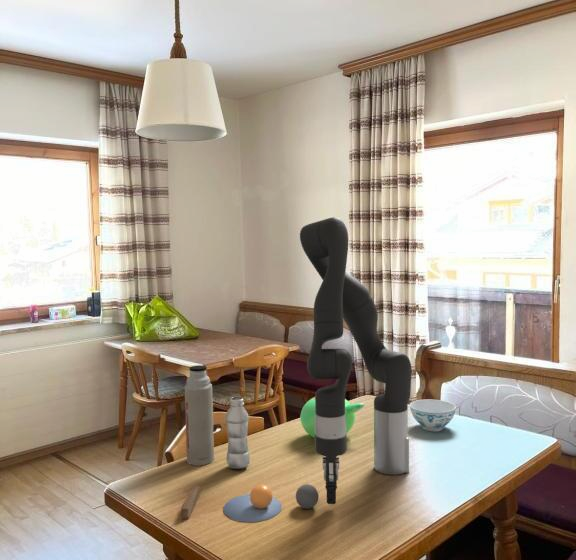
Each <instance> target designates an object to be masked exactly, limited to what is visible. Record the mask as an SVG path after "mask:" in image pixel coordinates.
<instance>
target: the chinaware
mask: <svg viewBox="0 0 576 560" xmlns="http://www.w3.org/2000/svg"><path fill="white" fill-rule="evenodd" d="M409 409H410V411H411V412H410V413H411V415H412V417H413V419H414V420H415V421H416V423H418V424H419V425H421V427H422V429H423V430H424V431H428V432H440V431H443V429H444V427H446V426H447V425H448V424H450V422H451V421H452V420H453V418H454V416H455V413H456V409H457V407H456V405H455V404H454V403H452V402H449V401H446V400H440V399H429V398H427V399H417V400H413V401H412V402H410V404H409Z"/></svg>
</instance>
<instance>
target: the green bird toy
mask: <svg viewBox="0 0 576 560" xmlns="http://www.w3.org/2000/svg"><path fill="white" fill-rule="evenodd" d="M364 407H365V403H362V402H361V403H360V402H359V403H350V401H348V400H347V399H346V398H345V418H346V434H347V433H348V432H350V430H351V429H352V428H353V426H354V424H355V421H356V412H358V411H360V410H362V409H363V408H364ZM315 414H316V413H315V396H314V397H312V398H310V399H309V400H308V401H307V402H306V403H305V404H304V405H303V406H302V409H301V412H300V417H299V420H300V423H301V426H302V428H303V430H304V431H305V433H307V434H308V435H309V436H311V437H313V438H315Z"/></svg>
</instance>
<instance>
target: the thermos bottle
mask: <svg viewBox="0 0 576 560" xmlns="http://www.w3.org/2000/svg"><path fill="white" fill-rule="evenodd" d="M207 367H208V366H206V365H200V364H198V365H192V366H190V367H189V376H188V377H187V378H186V385H184V404H185V405H184V406H185V407H184V408H185V411H184V414H185V439H186V440H185V444H186V445H185V446H186V463H188V464H189V463H190V464H189V465H191V464H193V465H192V466H206V465H209V464H211V463H213V462H214V460H215V442H214V441H215V440H214V406H213V403H214V401H213V398H214V397H213V384H212V383H211V379H210V377H209V376H208V374H207V370H208V369H207ZM208 463H209V464H208ZM205 464H206V465H205Z"/></svg>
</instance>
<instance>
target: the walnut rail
mask: <svg viewBox="0 0 576 560" xmlns="http://www.w3.org/2000/svg"><path fill="white" fill-rule="evenodd" d="M200 491H201V490H200V486H199V485H197V486H196V485H194V486H192V488H191V490H190V492H189V494H188V496H187V498H186V500H185V502H184V505H183V506H182V508H181V515H182V519H181V520H189V519H190V518H191V515H192V513H193V511H194V509H195V506H196V505H197V502H198V500H199V498H200V497H201V496H200V495H201V493H200Z"/></svg>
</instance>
